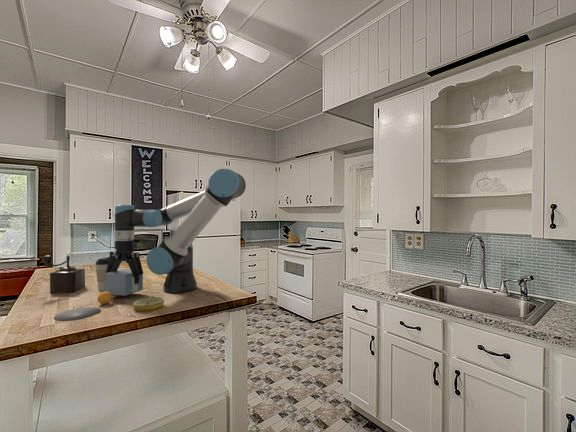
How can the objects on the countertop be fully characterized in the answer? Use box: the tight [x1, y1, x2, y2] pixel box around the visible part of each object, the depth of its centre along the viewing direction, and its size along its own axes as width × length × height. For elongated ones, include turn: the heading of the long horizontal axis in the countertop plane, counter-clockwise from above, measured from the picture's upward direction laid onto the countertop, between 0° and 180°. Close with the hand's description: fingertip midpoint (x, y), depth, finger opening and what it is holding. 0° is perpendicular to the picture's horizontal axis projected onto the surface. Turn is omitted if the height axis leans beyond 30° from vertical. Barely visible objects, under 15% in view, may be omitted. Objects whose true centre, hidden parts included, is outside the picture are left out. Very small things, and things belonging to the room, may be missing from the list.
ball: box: [97, 290, 113, 305], centre depth 121 cm, size 5×5×5 cm
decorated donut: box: [132, 296, 165, 313], centre depth 116 cm, size 10×11×4 cm
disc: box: [53, 306, 102, 322], centre depth 110 cm, size 14×14×1 cm
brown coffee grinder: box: [41, 254, 86, 294], centre depth 142 cm, size 16×11×18 cm
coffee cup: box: [95, 256, 110, 292], centre depth 146 cm, size 9×9×15 cm
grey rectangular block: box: [105, 268, 144, 297], centre depth 133 cm, size 10×10×9 cm
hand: (124, 290), depth 133 cm, fingers closed on grey rectangular block, 10 cm apart
